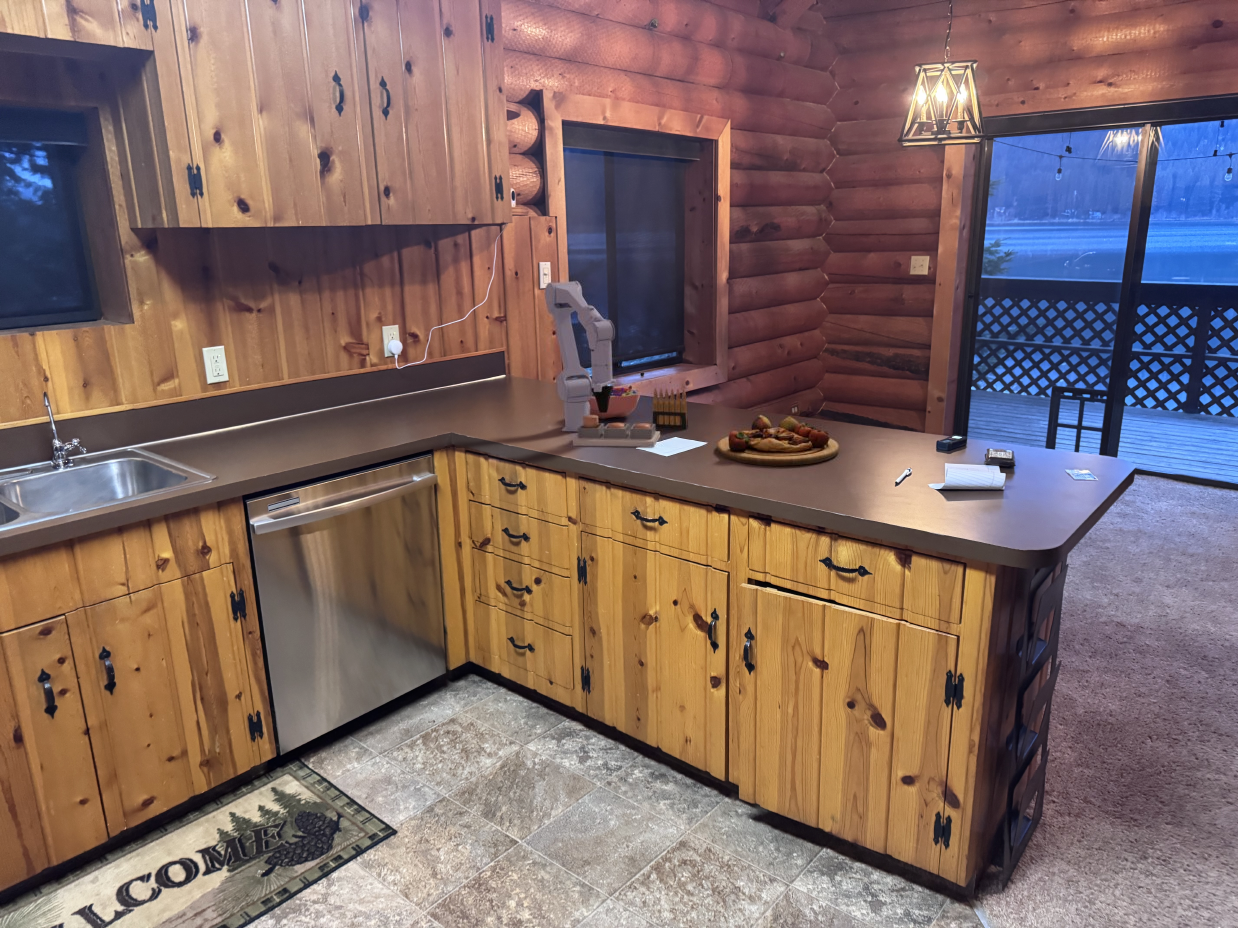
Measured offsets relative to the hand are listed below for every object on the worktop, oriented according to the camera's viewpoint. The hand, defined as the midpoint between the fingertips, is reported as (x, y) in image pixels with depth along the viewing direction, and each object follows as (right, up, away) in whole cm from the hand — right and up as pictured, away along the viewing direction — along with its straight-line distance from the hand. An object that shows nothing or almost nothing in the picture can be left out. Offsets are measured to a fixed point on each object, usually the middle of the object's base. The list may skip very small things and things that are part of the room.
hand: (603, 412), depth 243 cm
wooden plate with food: (+47, -12, -15) cm, 50 cm away
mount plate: (+4, -8, +1) cm, 9 cm away
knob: (+11, -7, 0) cm, 13 cm away
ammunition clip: (+20, -4, +15) cm, 25 cm away
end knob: (-4, -4, +2) cm, 6 cm away
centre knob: (+4, -7, +1) cm, 8 cm away
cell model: (+2, 0, +31) cm, 31 cm away
